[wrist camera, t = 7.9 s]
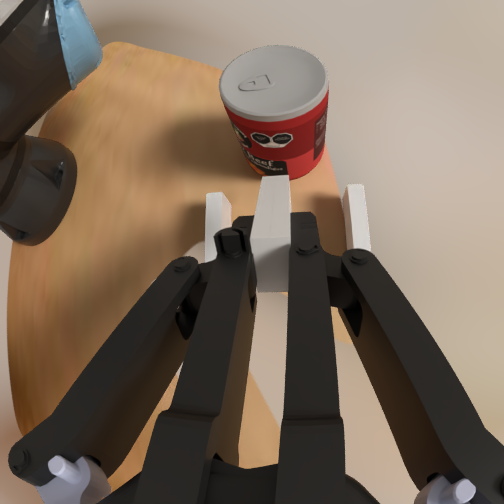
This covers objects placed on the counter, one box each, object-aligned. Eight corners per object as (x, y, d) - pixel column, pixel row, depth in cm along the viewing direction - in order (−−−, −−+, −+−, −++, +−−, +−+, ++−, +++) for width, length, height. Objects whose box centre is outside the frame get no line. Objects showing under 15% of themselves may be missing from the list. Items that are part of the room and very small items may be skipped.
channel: (364, 295, 25) (373, 293, 22) (216, 300, 27) (204, 298, 24) (356, 198, 27) (363, 184, 24) (217, 206, 29) (206, 193, 26)
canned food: (232, 144, 30) (200, 75, 20) (294, 108, 30) (286, 32, 19) (272, 199, 28) (254, 137, 18) (339, 157, 28) (351, 84, 17)
